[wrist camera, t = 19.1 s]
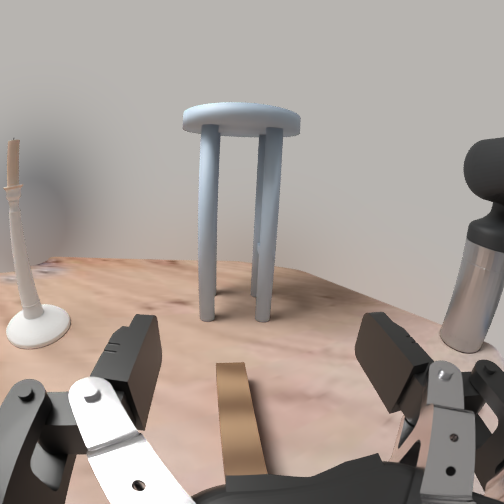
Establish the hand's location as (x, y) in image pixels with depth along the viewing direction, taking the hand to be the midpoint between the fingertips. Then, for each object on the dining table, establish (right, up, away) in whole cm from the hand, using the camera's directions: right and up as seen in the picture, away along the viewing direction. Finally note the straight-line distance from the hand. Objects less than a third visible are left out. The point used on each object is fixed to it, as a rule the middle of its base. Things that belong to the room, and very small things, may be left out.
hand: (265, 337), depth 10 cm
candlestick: (-36, -9, +24) cm, 44 cm away
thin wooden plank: (-1, -16, +8) cm, 18 cm away
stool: (-4, -6, +39) cm, 39 cm away
